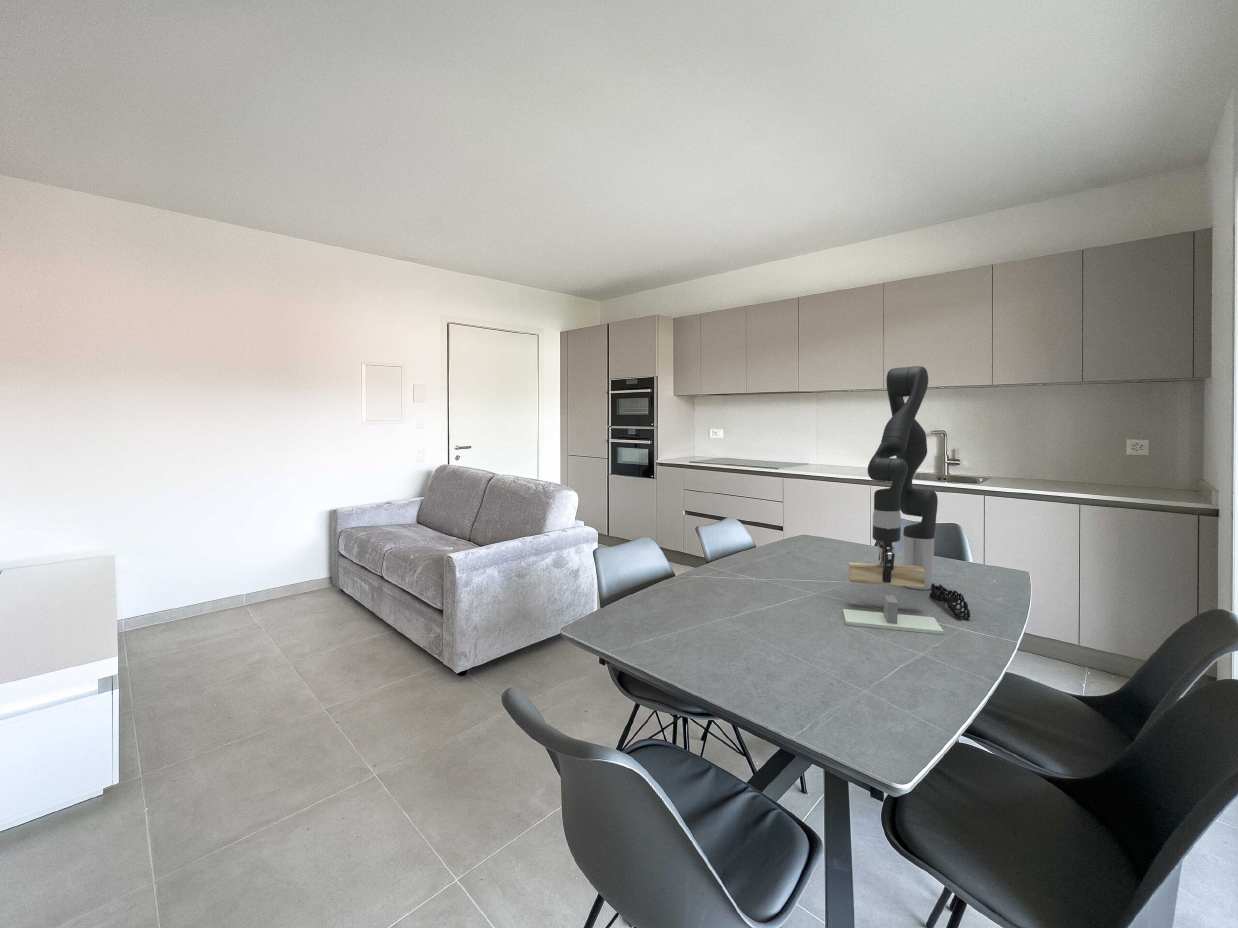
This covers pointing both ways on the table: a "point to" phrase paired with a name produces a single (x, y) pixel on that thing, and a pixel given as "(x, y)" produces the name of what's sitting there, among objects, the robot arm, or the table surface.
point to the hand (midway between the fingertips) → (885, 579)
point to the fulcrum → (892, 619)
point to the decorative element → (950, 600)
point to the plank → (898, 575)
